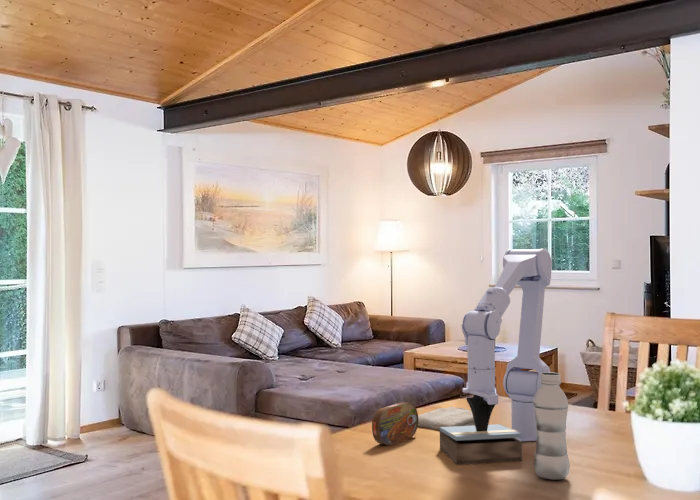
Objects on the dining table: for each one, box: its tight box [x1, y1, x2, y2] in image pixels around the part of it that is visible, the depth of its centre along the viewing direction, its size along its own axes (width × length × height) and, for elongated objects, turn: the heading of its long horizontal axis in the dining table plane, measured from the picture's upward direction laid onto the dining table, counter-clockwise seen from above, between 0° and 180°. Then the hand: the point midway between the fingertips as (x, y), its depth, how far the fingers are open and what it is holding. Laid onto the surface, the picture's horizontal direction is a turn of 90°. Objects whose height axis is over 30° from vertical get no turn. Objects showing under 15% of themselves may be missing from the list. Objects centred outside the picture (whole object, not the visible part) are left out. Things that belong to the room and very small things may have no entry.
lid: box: [439, 423, 521, 441], centre depth 156 cm, size 14×12×1 cm
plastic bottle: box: [533, 371, 571, 481], centre depth 140 cm, size 6×7×20 cm
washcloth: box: [418, 406, 475, 431], centre depth 186 cm, size 12×18×3 cm, turn 140°
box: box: [439, 430, 523, 466], centre depth 156 cm, size 14×12×4 cm
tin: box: [371, 402, 419, 446], centre depth 168 cm, size 15×3×8 cm, turn 139°
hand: (481, 431), depth 154 cm, fingers closed, pressing on lid
